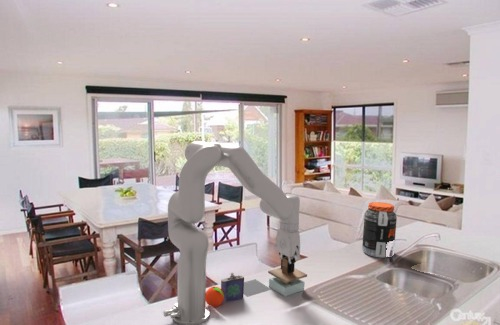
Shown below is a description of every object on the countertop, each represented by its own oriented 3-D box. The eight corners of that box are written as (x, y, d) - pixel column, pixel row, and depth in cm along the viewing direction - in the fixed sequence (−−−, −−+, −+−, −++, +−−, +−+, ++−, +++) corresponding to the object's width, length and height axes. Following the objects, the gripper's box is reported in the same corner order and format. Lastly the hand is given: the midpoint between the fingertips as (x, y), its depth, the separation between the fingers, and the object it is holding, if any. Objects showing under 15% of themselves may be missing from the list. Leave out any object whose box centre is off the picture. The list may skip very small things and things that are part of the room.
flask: (222, 305, 137) (222, 277, 136) (218, 301, 140) (219, 274, 139) (244, 300, 142) (245, 273, 140) (241, 296, 144) (242, 270, 143)
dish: (284, 298, 144) (285, 288, 144) (268, 287, 152) (269, 278, 152) (304, 291, 150) (304, 282, 149) (287, 282, 158) (288, 273, 158)
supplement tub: (390, 261, 185) (394, 209, 182) (358, 254, 193) (361, 205, 190) (396, 251, 198) (400, 203, 195) (366, 245, 206) (369, 199, 203)
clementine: (230, 306, 137) (230, 287, 136) (217, 313, 131) (217, 294, 131) (213, 299, 142) (214, 281, 141) (200, 306, 136) (201, 287, 135)
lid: (285, 283, 143) (286, 265, 142) (268, 272, 152) (268, 256, 151) (307, 276, 149) (307, 260, 148) (288, 267, 158) (289, 251, 157)
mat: (247, 298, 143) (247, 296, 143) (232, 287, 152) (232, 285, 152) (271, 290, 150) (271, 289, 150) (255, 280, 159) (255, 279, 159)
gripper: (268, 222, 152) (267, 265, 155) (295, 233, 139) (294, 280, 141) (283, 219, 157) (281, 261, 159) (310, 229, 143) (308, 275, 146)
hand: (287, 270), depth 150 cm, fingers closed on lid, 3 cm apart
